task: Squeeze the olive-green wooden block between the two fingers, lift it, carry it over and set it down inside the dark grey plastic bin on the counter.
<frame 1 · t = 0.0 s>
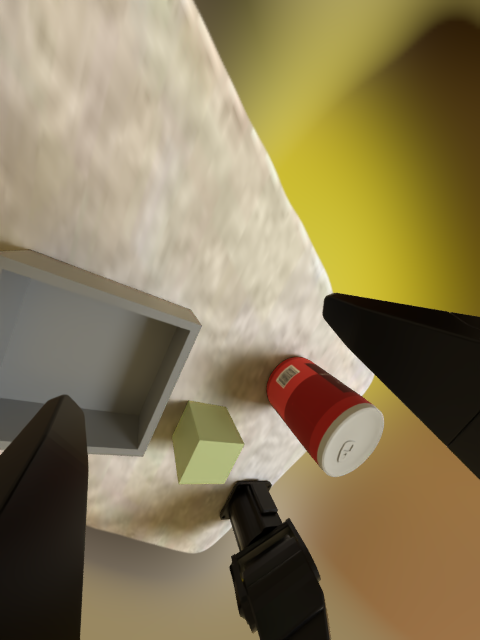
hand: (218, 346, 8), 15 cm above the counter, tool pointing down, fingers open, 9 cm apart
canned food: (288, 380, 31), on the counter
green block: (199, 421, 27), on the counter
grey bin: (97, 349, 21), on the counter
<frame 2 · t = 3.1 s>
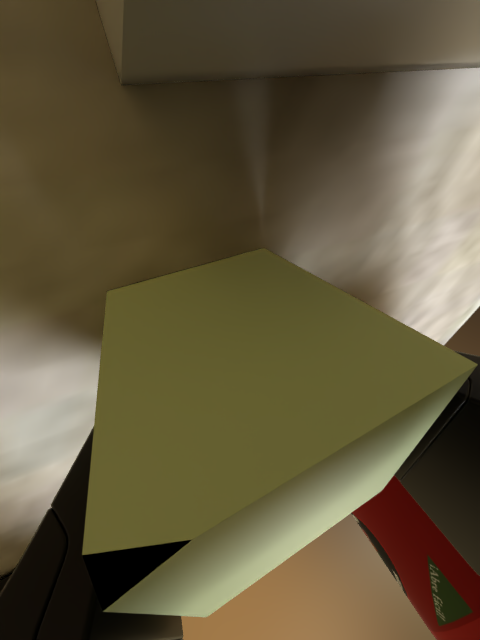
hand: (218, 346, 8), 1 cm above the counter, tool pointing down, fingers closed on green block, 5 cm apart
canned food: (336, 395, 17), on the counter
green block: (208, 329, 8), on the counter, touching gripper
when the fingers open (4 cm above the counter, at t = 7.5 s): green block drops 2 cm, resting on grey bin.
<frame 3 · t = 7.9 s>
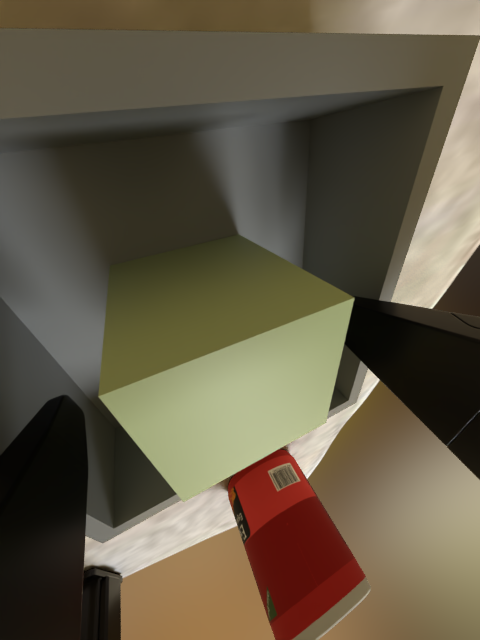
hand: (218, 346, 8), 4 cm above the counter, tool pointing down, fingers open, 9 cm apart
canned food: (258, 468, 25), on the counter
green block: (194, 303, 10), point 1 cm above the counter, touching grey bin
grey bin: (191, 297, 11), on the counter
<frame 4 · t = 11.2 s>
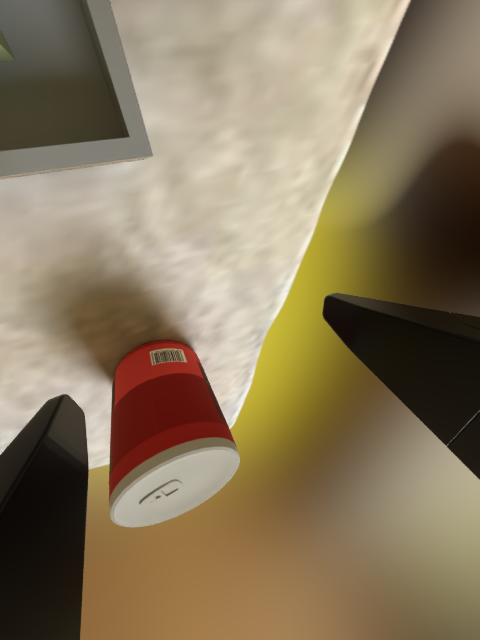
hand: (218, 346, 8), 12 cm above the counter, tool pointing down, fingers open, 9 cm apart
canned food: (158, 368, 22), on the counter
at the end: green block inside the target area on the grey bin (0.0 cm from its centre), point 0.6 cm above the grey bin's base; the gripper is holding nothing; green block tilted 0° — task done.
